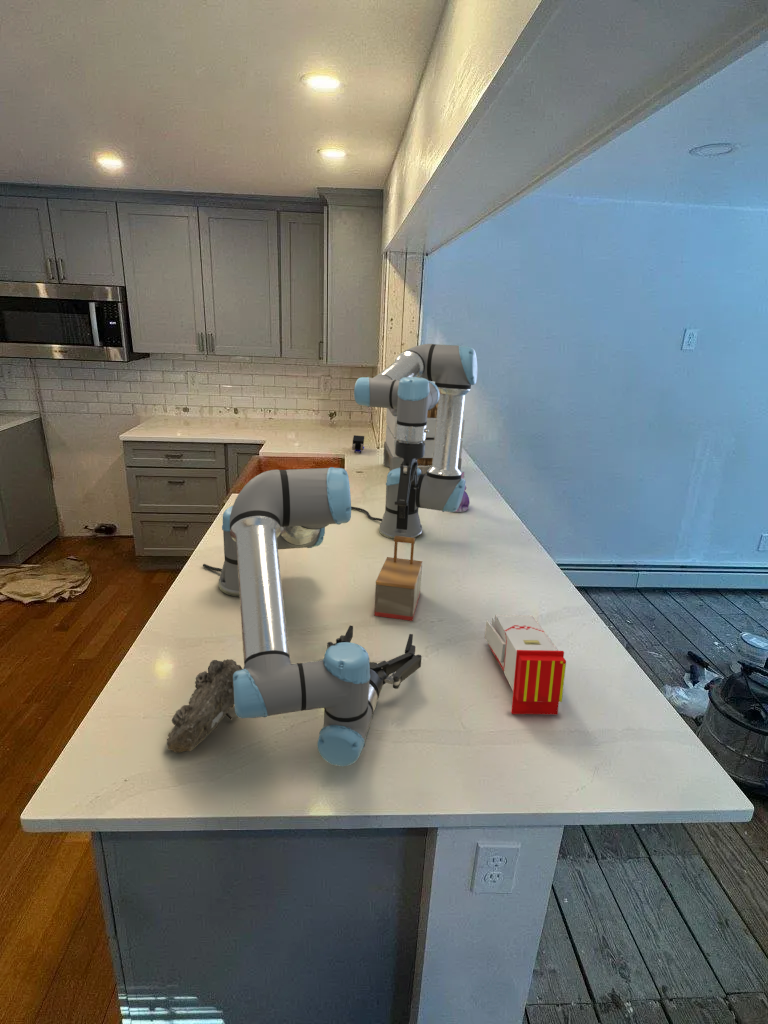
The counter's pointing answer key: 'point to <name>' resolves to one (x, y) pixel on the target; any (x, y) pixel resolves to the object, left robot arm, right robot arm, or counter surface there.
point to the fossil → (204, 706)
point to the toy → (527, 663)
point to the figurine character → (358, 443)
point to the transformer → (390, 439)
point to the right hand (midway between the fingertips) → (405, 519)
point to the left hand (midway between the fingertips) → (380, 634)
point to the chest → (397, 601)
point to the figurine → (463, 499)
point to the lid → (400, 568)
